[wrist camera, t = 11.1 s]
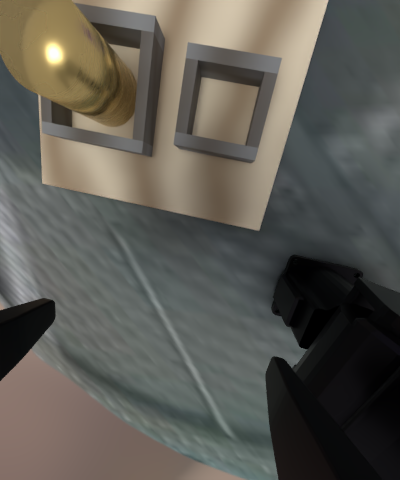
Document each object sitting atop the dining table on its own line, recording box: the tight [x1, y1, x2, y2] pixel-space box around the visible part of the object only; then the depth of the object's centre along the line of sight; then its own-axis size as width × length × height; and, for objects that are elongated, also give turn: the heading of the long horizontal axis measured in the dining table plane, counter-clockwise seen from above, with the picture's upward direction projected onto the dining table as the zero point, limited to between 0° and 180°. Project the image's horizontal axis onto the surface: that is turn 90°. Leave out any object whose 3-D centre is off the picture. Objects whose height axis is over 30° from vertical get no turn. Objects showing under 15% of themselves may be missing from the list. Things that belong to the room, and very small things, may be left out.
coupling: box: [0, 0, 137, 127], centre depth 12 cm, size 5×5×6 cm
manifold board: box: [38, 0, 328, 231], centre depth 15 cm, size 20×16×4 cm
